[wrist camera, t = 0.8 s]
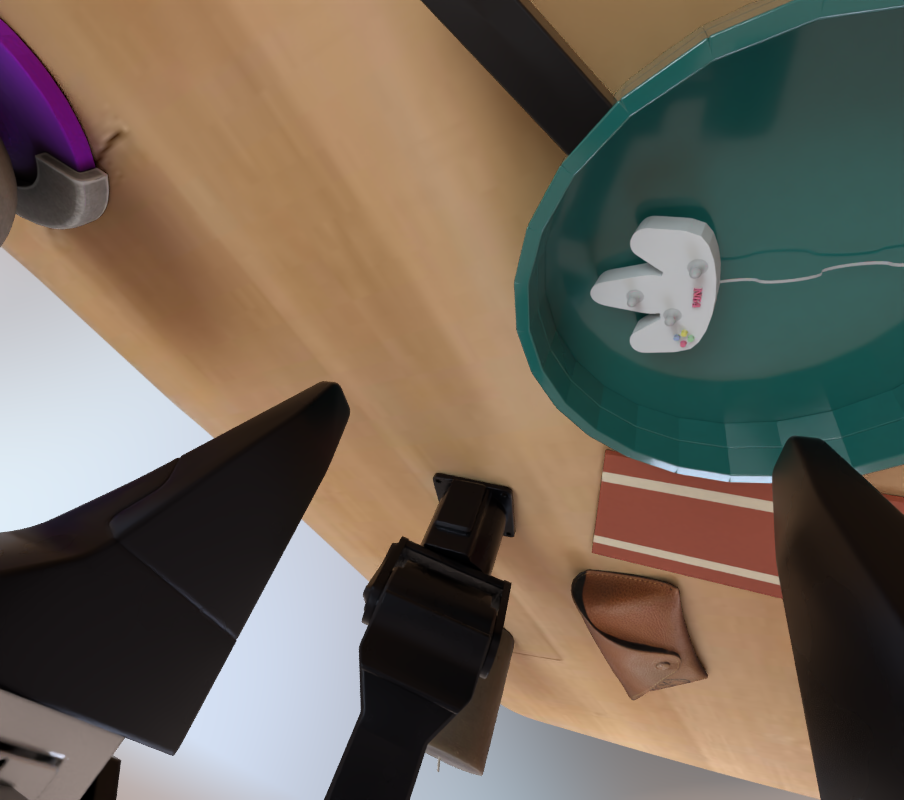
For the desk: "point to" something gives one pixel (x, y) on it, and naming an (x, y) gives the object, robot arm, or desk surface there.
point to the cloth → (690, 524)
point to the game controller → (673, 283)
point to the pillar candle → (475, 719)
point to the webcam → (42, 148)
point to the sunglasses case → (638, 629)
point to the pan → (739, 245)
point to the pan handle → (529, 64)
